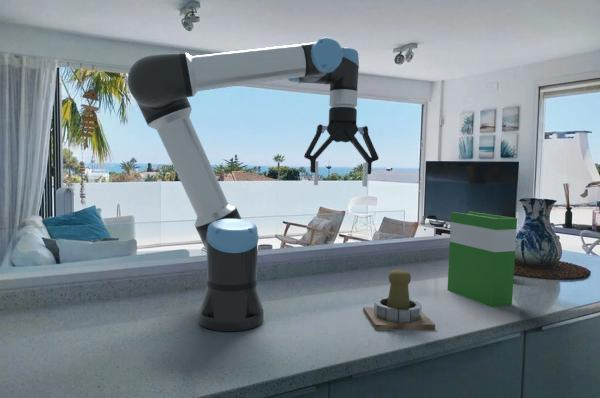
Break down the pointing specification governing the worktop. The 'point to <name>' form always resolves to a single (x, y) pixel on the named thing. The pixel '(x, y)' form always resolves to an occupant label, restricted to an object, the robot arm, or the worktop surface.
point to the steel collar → (397, 311)
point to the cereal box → (482, 257)
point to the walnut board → (386, 325)
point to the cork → (399, 289)
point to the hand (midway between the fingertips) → (340, 185)
